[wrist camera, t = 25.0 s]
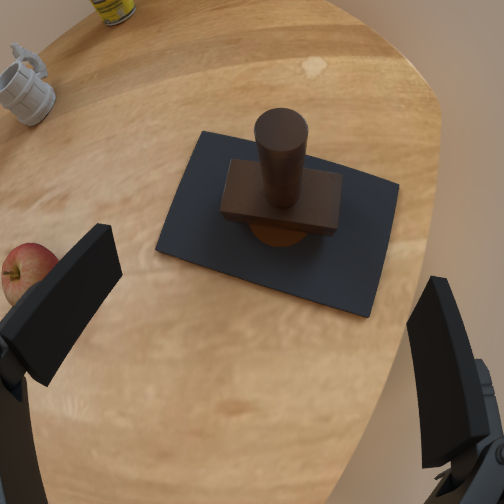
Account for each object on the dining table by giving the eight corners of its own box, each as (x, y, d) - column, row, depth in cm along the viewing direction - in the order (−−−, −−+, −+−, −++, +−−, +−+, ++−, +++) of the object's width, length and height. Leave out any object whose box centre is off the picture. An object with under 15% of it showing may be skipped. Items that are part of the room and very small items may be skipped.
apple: (23, 291, 32) (-21, 286, 24) (45, 238, 33) (2, 223, 25) (58, 327, 31) (12, 328, 23) (83, 269, 32) (37, 259, 24)
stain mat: (397, 186, 30) (399, 184, 29) (367, 317, 28) (369, 317, 27) (203, 133, 33) (202, 130, 32) (156, 250, 31) (154, 249, 30)
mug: (19, 133, 37) (-26, 100, 25) (38, 80, 39) (2, 45, 28) (50, 120, 37) (4, 80, 25) (68, 66, 39) (33, 25, 27)
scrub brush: (336, 190, 30) (370, 108, 16) (330, 239, 29) (368, 183, 15) (237, 175, 31) (205, 89, 17) (227, 223, 30) (184, 158, 16)
